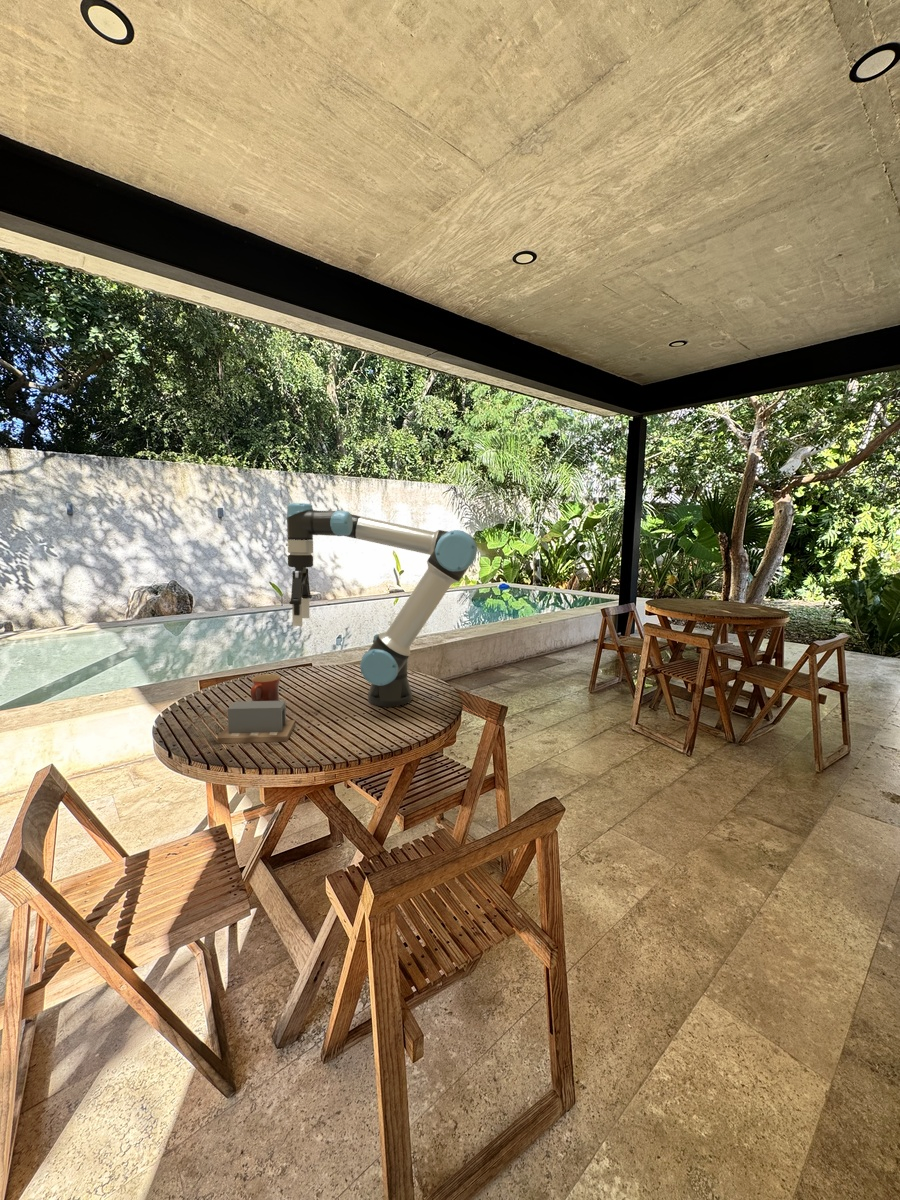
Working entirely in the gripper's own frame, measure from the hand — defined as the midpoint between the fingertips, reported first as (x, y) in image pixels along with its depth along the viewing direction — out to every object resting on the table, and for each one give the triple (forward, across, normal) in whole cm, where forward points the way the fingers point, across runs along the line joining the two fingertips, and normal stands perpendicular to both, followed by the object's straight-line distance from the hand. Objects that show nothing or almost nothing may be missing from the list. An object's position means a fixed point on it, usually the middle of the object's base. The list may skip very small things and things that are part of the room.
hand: (301, 621), depth 154 cm
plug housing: (+27, +19, -9) cm, 34 cm away
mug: (+29, 0, -12) cm, 31 cm away
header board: (+29, +19, -9) cm, 36 cm away
